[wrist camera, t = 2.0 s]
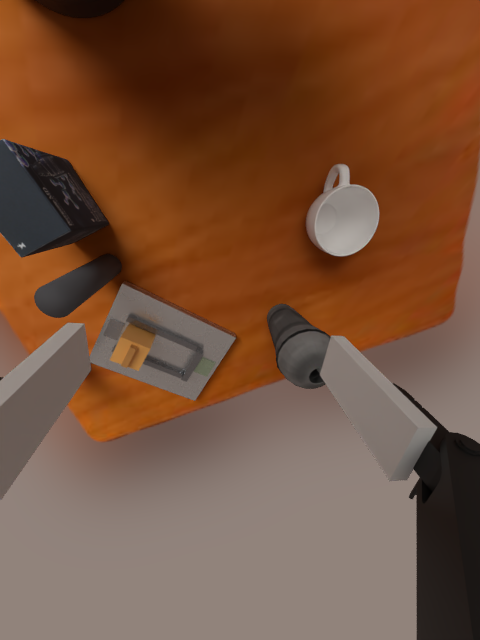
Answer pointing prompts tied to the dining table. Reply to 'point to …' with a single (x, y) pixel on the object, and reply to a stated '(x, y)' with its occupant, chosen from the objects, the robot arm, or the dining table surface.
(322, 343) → the beverage cup
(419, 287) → the dining table surface
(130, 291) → the breaker panel
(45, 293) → the cord post
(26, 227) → the box
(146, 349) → the block
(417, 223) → the dining table surface
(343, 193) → the cup
